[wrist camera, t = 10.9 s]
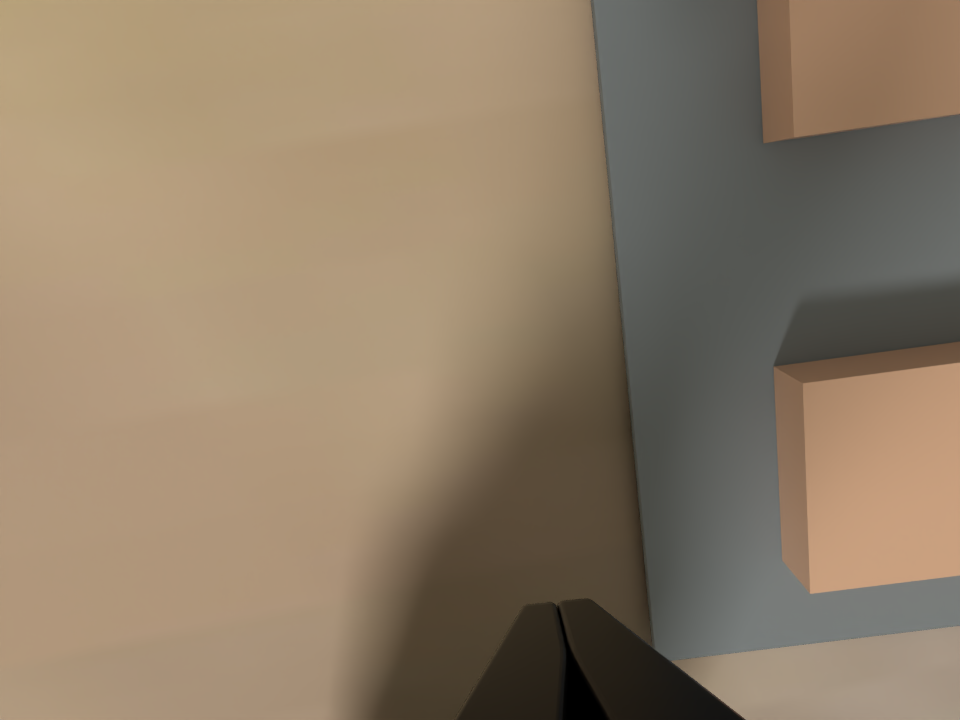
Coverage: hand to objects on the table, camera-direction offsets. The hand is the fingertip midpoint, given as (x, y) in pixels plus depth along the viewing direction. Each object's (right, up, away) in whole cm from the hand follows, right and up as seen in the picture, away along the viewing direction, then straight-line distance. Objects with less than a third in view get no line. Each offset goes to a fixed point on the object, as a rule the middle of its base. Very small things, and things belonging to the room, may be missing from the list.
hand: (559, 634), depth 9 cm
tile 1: (+8, 0, +10) cm, 13 cm away
